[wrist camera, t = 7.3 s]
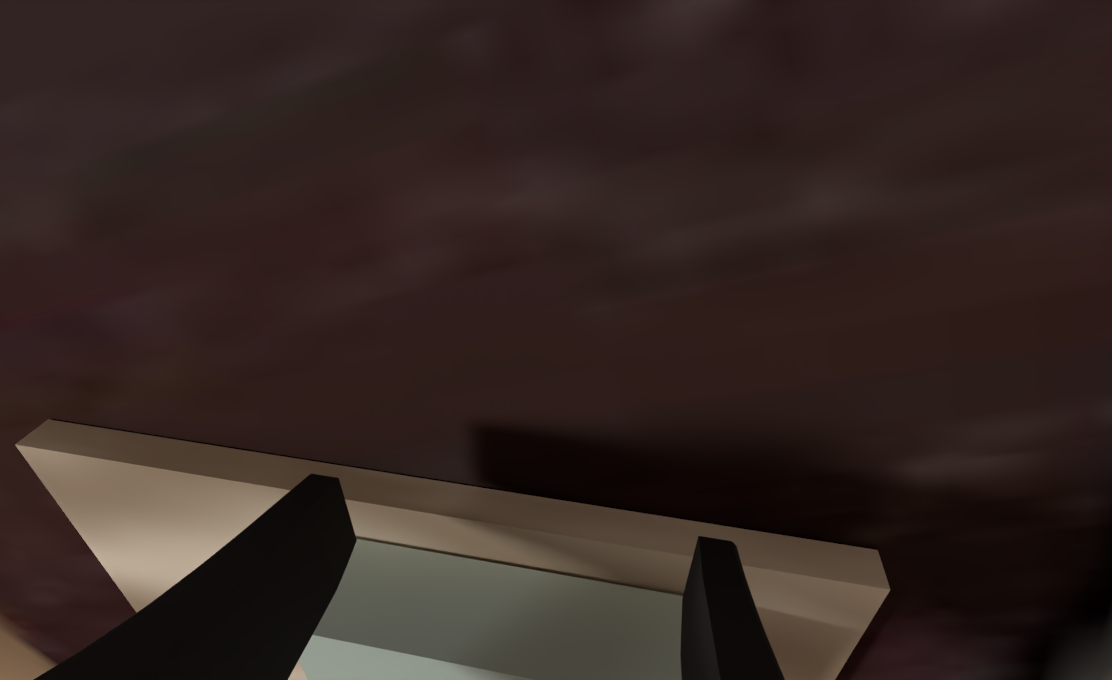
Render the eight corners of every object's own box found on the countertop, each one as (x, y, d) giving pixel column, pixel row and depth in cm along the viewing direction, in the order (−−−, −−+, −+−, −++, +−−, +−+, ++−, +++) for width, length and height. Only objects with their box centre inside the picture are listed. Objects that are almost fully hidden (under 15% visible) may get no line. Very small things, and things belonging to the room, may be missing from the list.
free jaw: (702, 696, 16) (705, 804, 14) (368, 630, 18) (327, 720, 16) (735, 605, 14) (744, 721, 12) (338, 535, 15) (284, 629, 13)
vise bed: (735, 806, 23) (737, 837, 22) (228, 693, 26) (213, 718, 25) (877, 550, 13) (889, 589, 12) (48, 419, 16) (15, 444, 15)
